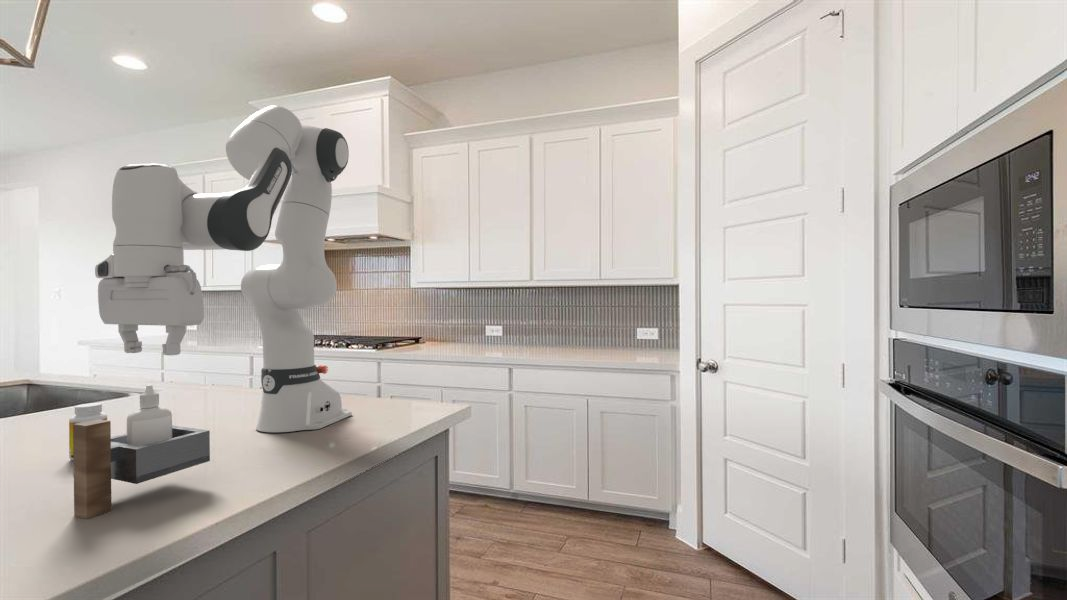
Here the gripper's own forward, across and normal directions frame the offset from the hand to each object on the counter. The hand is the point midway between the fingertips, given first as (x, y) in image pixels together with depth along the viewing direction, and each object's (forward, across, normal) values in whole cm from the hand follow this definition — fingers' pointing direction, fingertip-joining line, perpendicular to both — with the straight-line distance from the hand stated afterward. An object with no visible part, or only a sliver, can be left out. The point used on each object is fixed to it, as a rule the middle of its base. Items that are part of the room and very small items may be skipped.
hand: (152, 353), depth 80 cm
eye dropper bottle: (+17, 0, 0) cm, 17 cm away
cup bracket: (+22, 0, +2) cm, 22 cm away
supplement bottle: (+22, +31, -7) cm, 39 cm away
